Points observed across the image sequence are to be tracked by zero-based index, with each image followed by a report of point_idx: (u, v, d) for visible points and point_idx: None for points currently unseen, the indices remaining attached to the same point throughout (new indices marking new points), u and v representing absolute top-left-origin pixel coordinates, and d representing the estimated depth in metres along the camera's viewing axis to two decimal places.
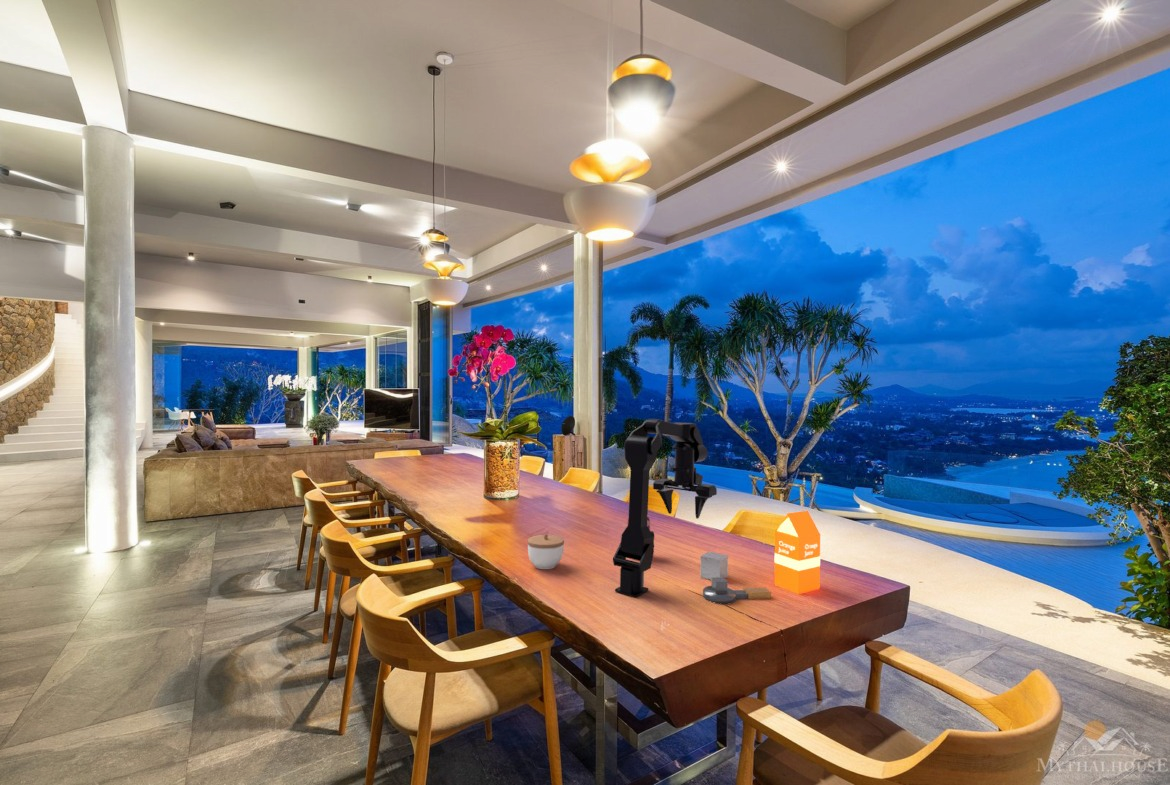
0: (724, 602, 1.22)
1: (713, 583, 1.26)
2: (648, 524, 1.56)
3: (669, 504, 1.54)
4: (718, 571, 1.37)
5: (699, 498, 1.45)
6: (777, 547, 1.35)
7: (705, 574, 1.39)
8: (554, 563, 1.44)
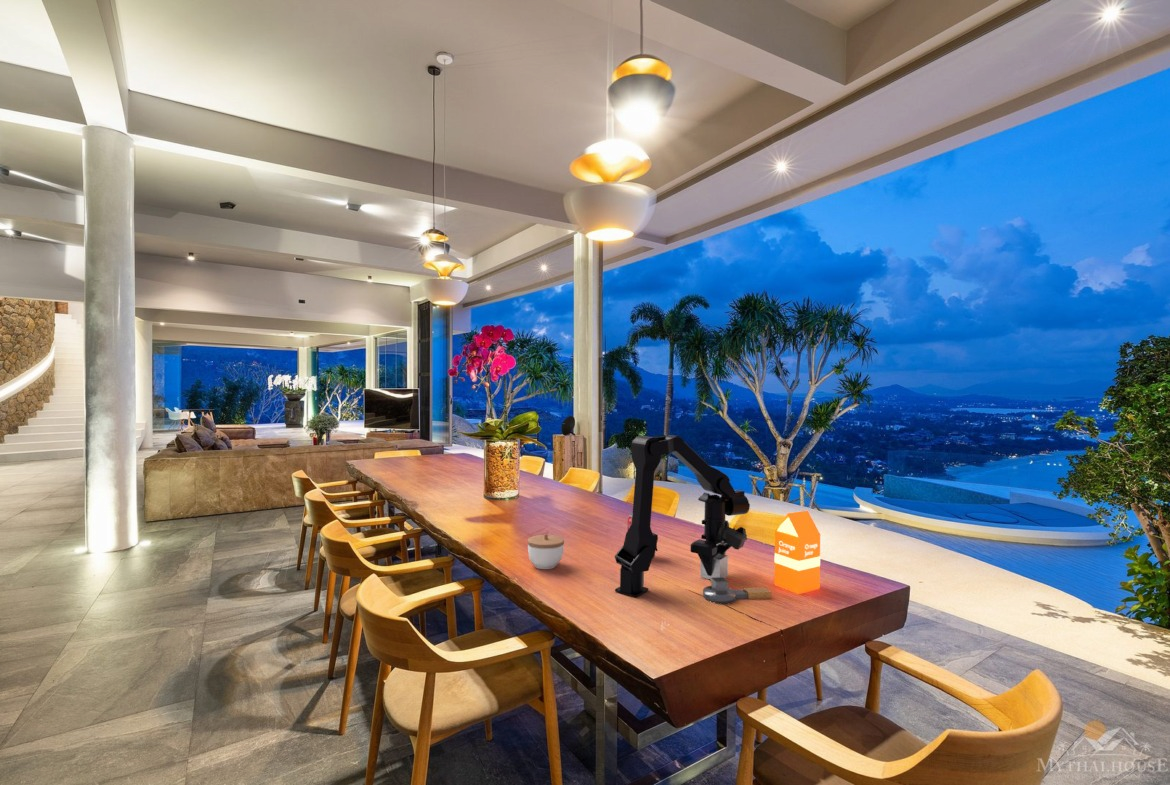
0: (724, 602, 1.22)
1: (713, 583, 1.26)
2: None
3: None
4: (718, 571, 1.37)
5: None
6: (777, 547, 1.35)
7: (705, 574, 1.39)
8: (554, 563, 1.44)
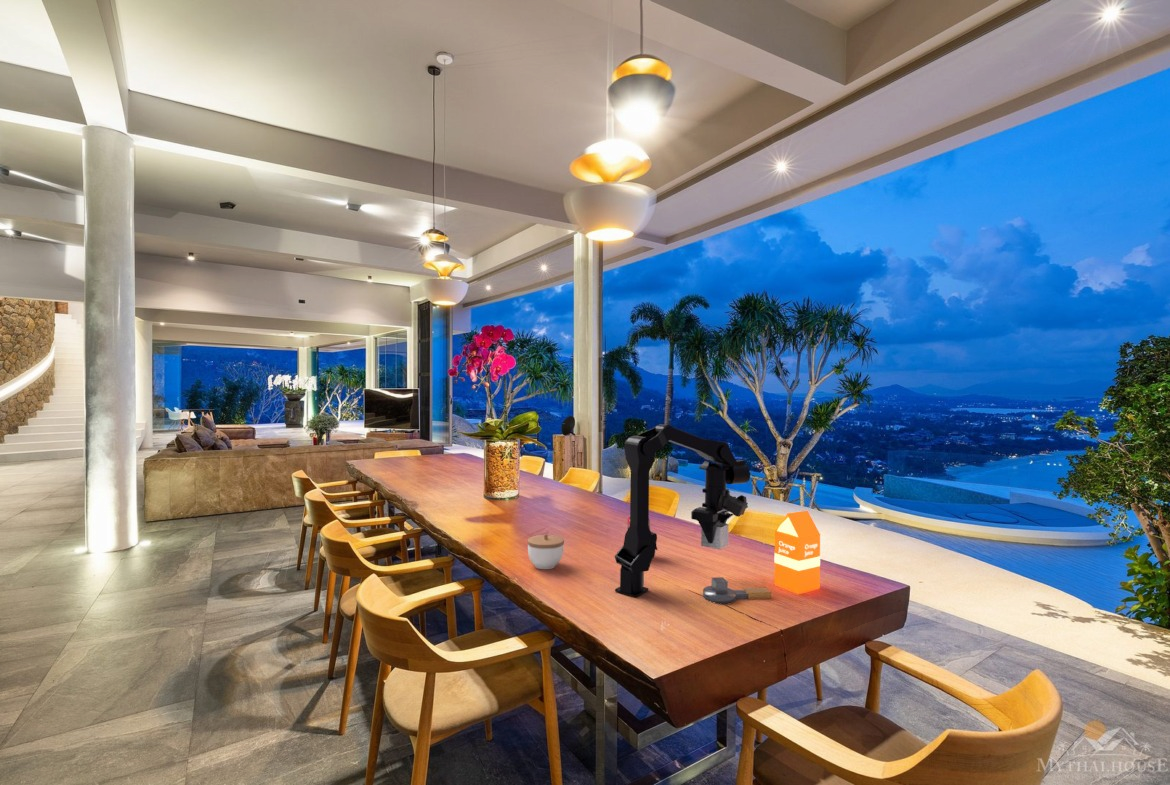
0: (724, 602, 1.22)
1: (713, 583, 1.26)
2: None
3: None
4: (719, 539, 1.37)
5: None
6: (777, 547, 1.35)
7: (705, 542, 1.39)
8: (554, 563, 1.44)
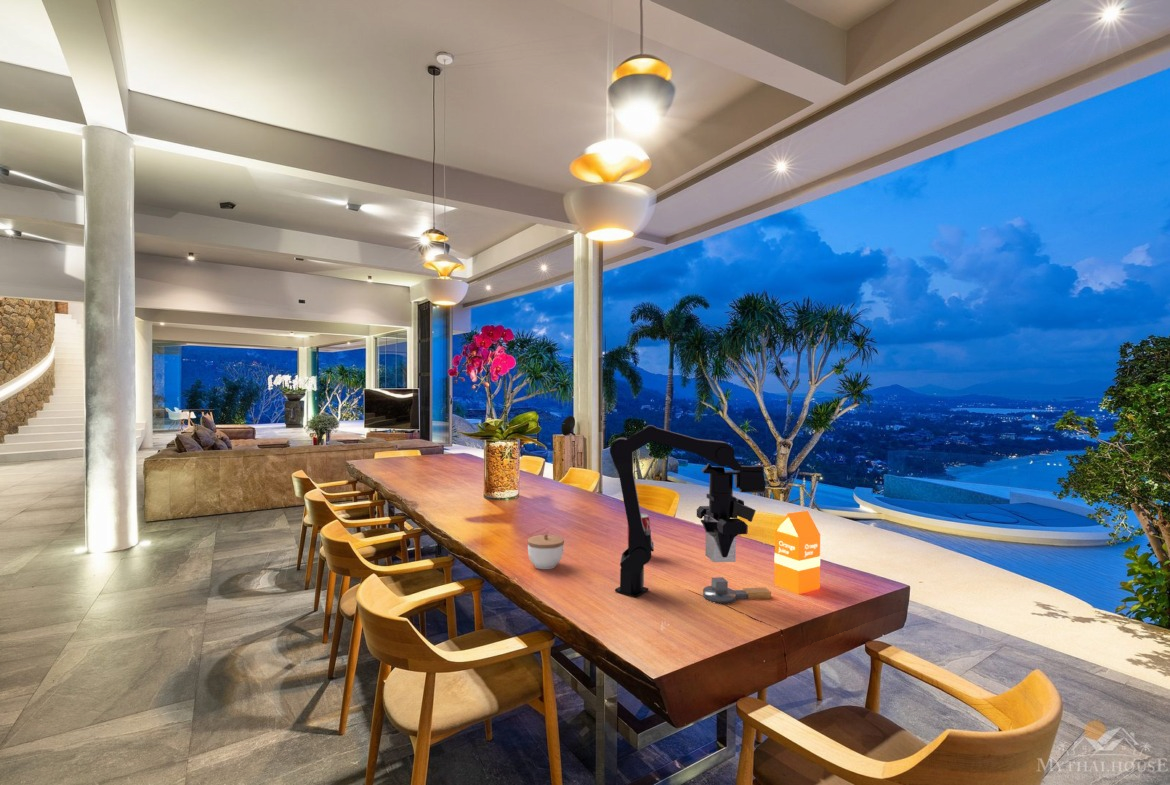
0: (724, 602, 1.22)
1: (713, 583, 1.26)
2: (648, 524, 1.56)
3: None
4: (734, 550, 1.23)
5: (716, 532, 1.21)
6: (777, 547, 1.35)
7: (719, 557, 1.23)
8: (554, 563, 1.44)
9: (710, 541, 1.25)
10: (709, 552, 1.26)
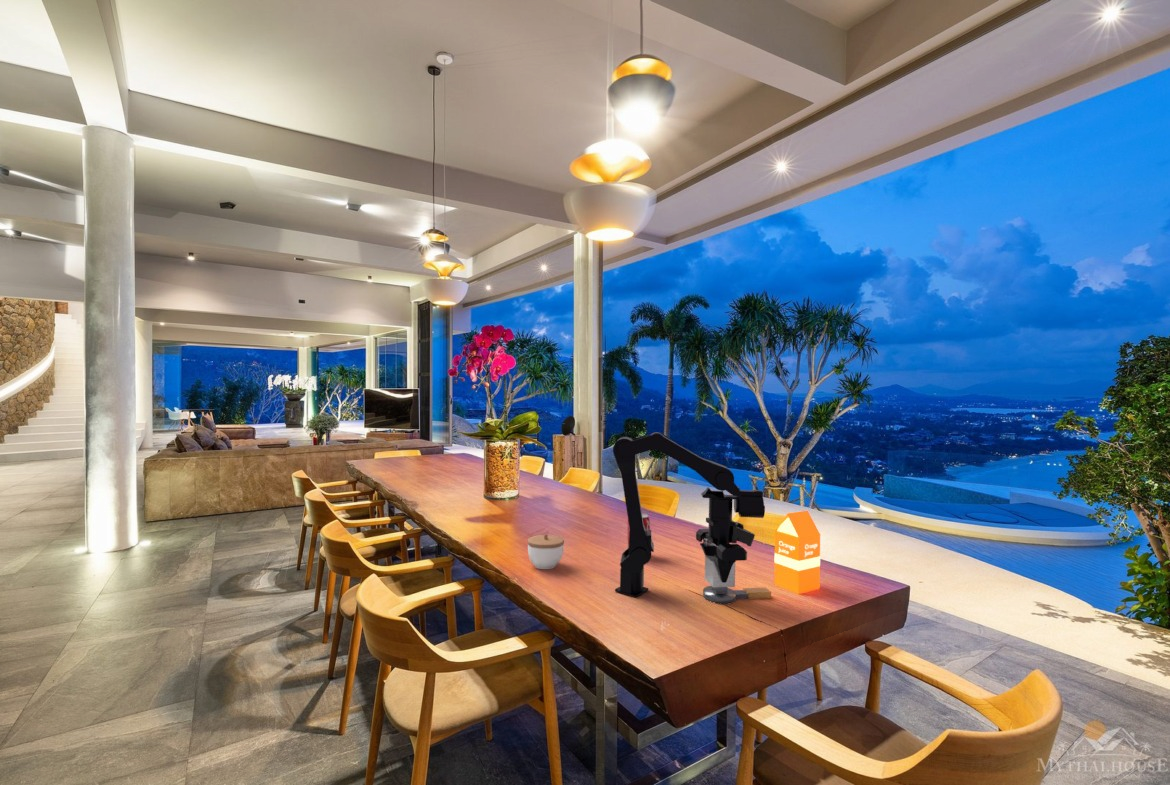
0: (724, 602, 1.22)
1: None
2: (648, 524, 1.56)
3: None
4: (733, 575, 1.23)
5: (716, 558, 1.21)
6: (777, 547, 1.35)
7: (718, 582, 1.23)
8: (554, 563, 1.44)
9: (709, 565, 1.25)
10: (708, 576, 1.25)
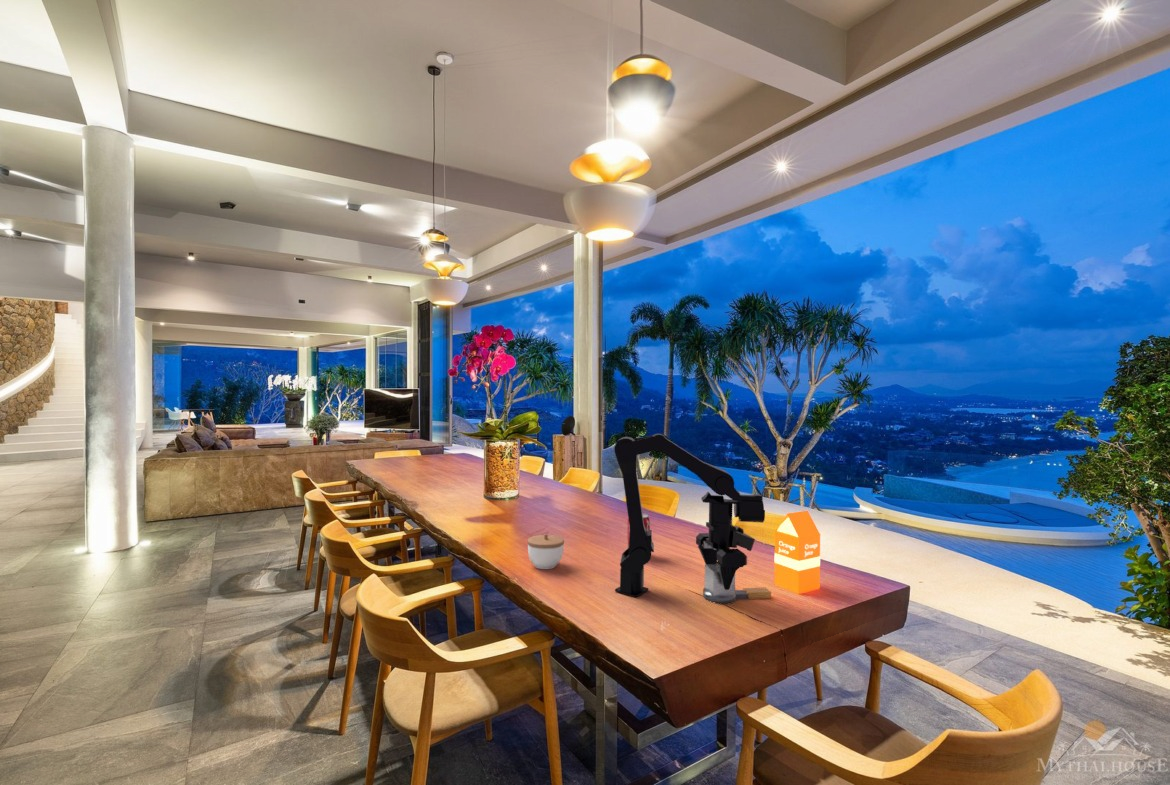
0: (724, 602, 1.22)
1: None
2: (648, 524, 1.56)
3: None
4: (733, 583, 1.23)
5: (718, 565, 1.19)
6: (777, 547, 1.35)
7: (718, 591, 1.23)
8: (554, 563, 1.44)
9: (709, 574, 1.25)
10: (708, 585, 1.25)
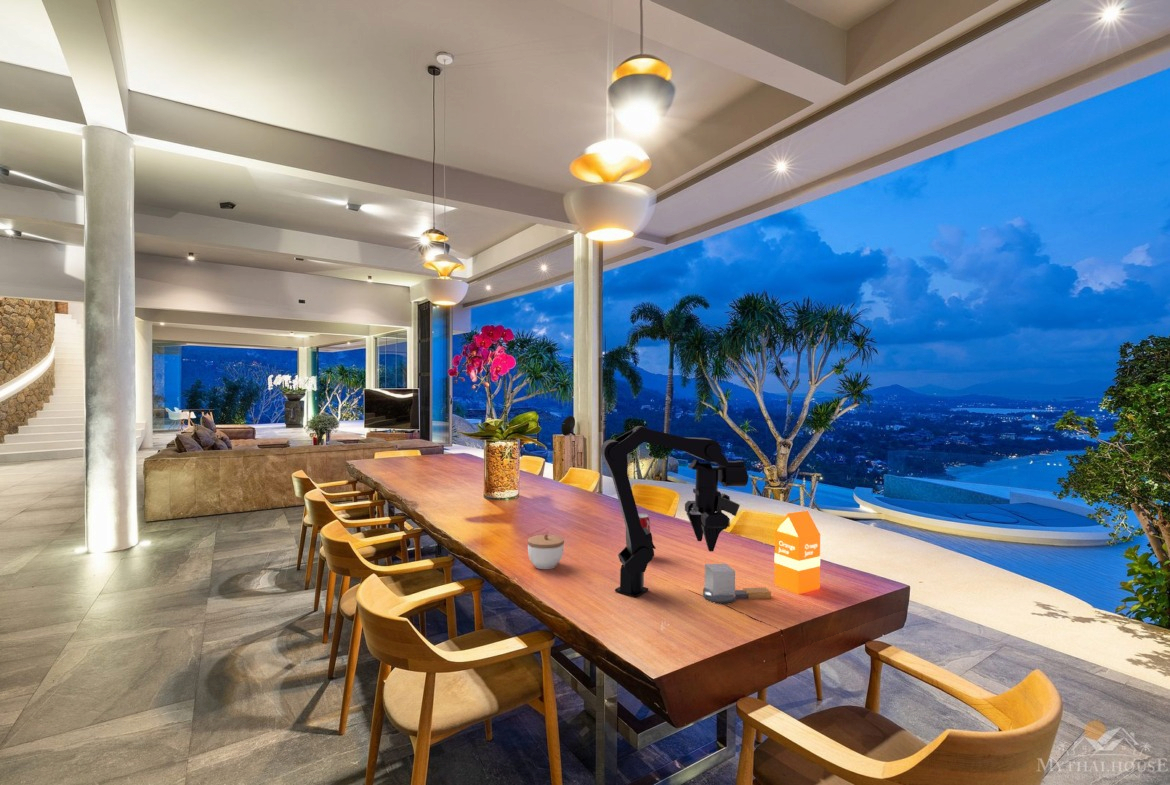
0: (724, 602, 1.22)
1: None
2: (648, 524, 1.56)
3: (698, 530, 1.36)
4: (733, 584, 1.23)
5: (702, 527, 1.25)
6: (777, 547, 1.35)
7: (718, 591, 1.23)
8: (554, 563, 1.44)
9: (709, 574, 1.25)
10: (708, 585, 1.25)
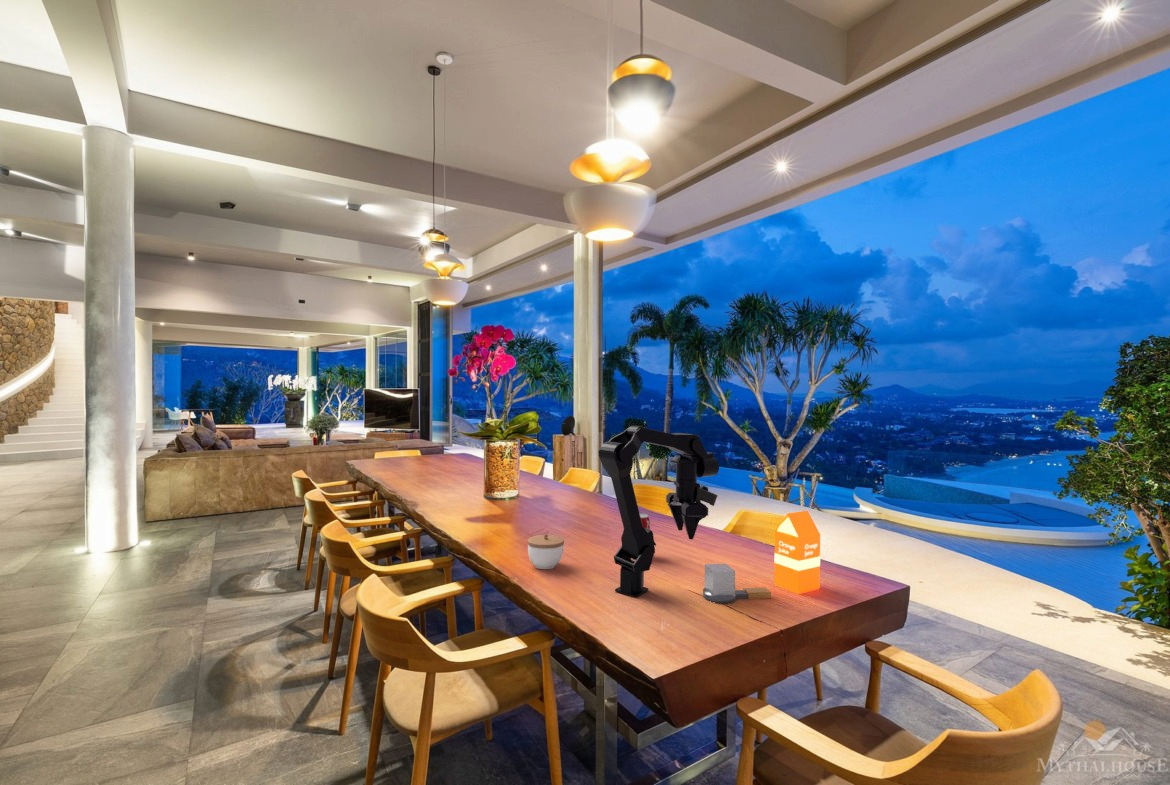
0: (724, 602, 1.22)
1: None
2: (648, 524, 1.56)
3: (678, 520, 1.44)
4: (733, 584, 1.23)
5: (683, 516, 1.33)
6: (777, 547, 1.35)
7: (718, 591, 1.23)
8: (554, 563, 1.44)
9: (709, 574, 1.25)
10: (708, 585, 1.25)
